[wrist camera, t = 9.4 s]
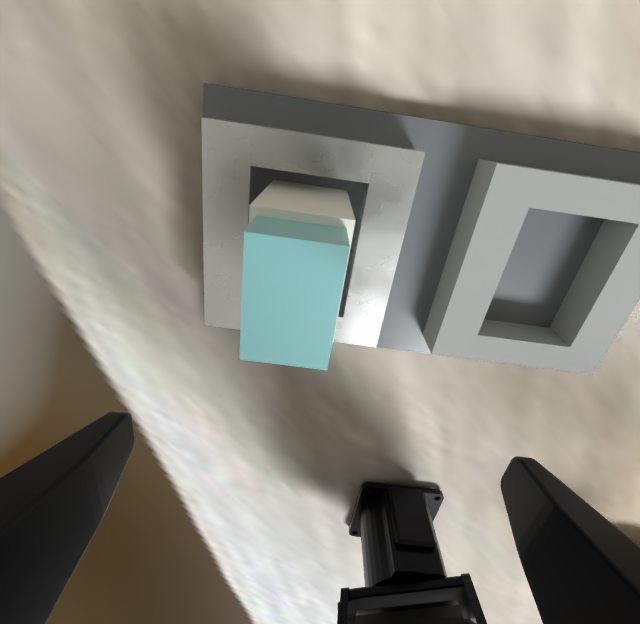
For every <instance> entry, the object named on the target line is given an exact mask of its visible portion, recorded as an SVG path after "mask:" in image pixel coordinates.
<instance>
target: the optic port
mask: <svg viewBox="0 0 640 624" xmlns="http://www.w3.org/2000/svg"><path fill="white" fill-rule="evenodd" d="M201 131H202V198H203V265H204V325H206V326H214V327H221V328H229V329H237V330H240V328H241V302H242V276H243V250H244V231H245V230H246V229H247V227H248V226H249V205H250V204H251V203H252V202H253V201H254V200H255V199H256V198H257V184H258V167H262V168H269V169H275V170H282V171H289V172H295V173H302V174H309V175H315V176H322V177H329V178H335V179H342V180H349V181H355V182H362V183H364V185H363V190H362V195H361V201H360V206H359V211H358V217H357V222H356V227H355V233H354V238H353V244H352V249H351V254H350V260H349V265H348V270H347V276H346V281H345V286H344V292H343V297H342V300H341V303H340V308H339V314H338V319H337V324H336V330H335V335H334V341H333V342H339V343H347V344H355V345H363V346H371V347H376V345H377V341H378V337H379V333H380V329H381V326H382V322H383V318H384V314H385V310H386V306H387V302H388V298H389V294H390V290H391V286H392V282H393V278H394V274H395V270H396V266H397V263H398V259H399V255H400V251H401V247H402V243H403V239H404V235H405V231H406V227H407V223H408V219H409V215H410V211H411V207H412V203H413V199H414V196H415V192H416V188H417V184H418V180H419V176H420V172H421V168H422V164H423V160H424V156H425V152H423V151H420V150H416V149H411V148H404V147H398V146H392V145H385V144H379V143H372V142H366V141H359V140H353V139H347V138H340V137H334V136H327V135H321V134H314V133H308V132H302V131H295V130H289V129H282V128H276V127H270V126H263V125H257V124H250V123H244V122H237V121H231V120H225V119H218V118H204V117H201Z"/></svg>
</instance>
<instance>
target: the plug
mask: <svg viewBox="0 0 640 624" xmlns="http://www.w3.org/2000/svg"><path fill="white" fill-rule="evenodd" d="M355 221H356V220H355V217H354V213H353V210H352V206H351V203H350V200H349V196H348V193H347V190H341V189H334V188H327V187H320V186H314V185H307V184H300V183H293V182H286V181H280V180H273V181H272V182H271V183H270V184H269V185H268V186H267V187H266V188H265V189H264V190H263V192H262V193H261V194H260V195H259V196H258V197H257V198H256V199H255V200H254V201H253V202H252V203H251V204H250V205H249V226H248V227H247V229H246V230H245V231H244V250H243V276H242V302H241V328H240V354H239V360H246V361H254V362H262V363H271V364H279V365H287V366H295V367H303V368H312V369H320V370H328V364H329V359H330V353H331V348H332V346H333V341H334V335H335V330H336V324H337V319H338V314H339V308H340V303H341V297H342V292H343V286H344V281H345V275H346V270H347V265H348V259H349V254H350V248H351V243H352V237H353V232H354V226H355Z"/></svg>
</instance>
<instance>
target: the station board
mask: <svg viewBox="0 0 640 624" xmlns="http://www.w3.org/2000/svg"><path fill="white" fill-rule="evenodd" d="M204 118H218V119H225V120H231V121H237V122H244V123H250V124H257V125H263V126H270V127H276V128H282V129H289V130H295V131H302V132H308V133H314V134H321V135H327V136H334V137H340V138H347V139H353V140H359V141H366V142H372V143H379V144H385V145H392V146H398V147H404V148H411V149H416V150H420V151H423V152H425V156H424V160H423V164H422V168H421V172H420V176H419V180H418V184H417V188H416V192H415V196H414V199H413V203H412V207H411V211H410V215H409V219H408V223H407V227H406V231H405V235H404V239H403V243H402V247H401V251H400V255H399V259H398V263H397V266H396V270H395V274H394V278H393V282H392V286H391V290H390V294H389V298H388V302H387V306H386V310H385V314H384V318H383V322H382V326H381V329H380V333H379V337H378V341H377V345H376V347H380V348H387V349H395V350H403V351H411V352H419V353H427V354H431V352H430V350H429V348H428V346H427V343H426V341H425V339H424V337H423V332H424V328H425V325H426V322H427V319H428V316H429V313H430V310H431V307H432V303H433V300H434V297H435V294H436V291H437V288H438V285H439V282H440V278H441V275H442V272H443V269H444V266H445V263H446V260H447V257H448V254H449V250H450V247H451V244H452V241H453V238H454V235H455V232H456V229H457V225H458V222H459V219H460V216H461V213H462V210H463V207H464V204H465V200H466V197H467V194H468V191H469V188H470V185H471V182H472V179H473V176H474V172H475V169H476V166H477V163H478V160H479V159H482V160H488V161H494V162H501V163H507V164H514V165H520V166H527V167H533V168H539V169H546V170H552V171H559V172H565V173H572V174H578V175H584V176H591V177H597V178H604V179H610V180H616V181H623V182H629V183H636V184H640V153H637V152H631V151H625V150H619V149H612V148H606V147H600V146H594V145H587V144H581V143H575V142H569V141H562V140H556V139H550V138H544V137H537V136H531V135H525V134H519V133H512V132H506V131H500V130H494V129H488V128H481V127H475V126H469V125H463V124H456V123H450V122H444V121H438V120H431V119H425V118H419V117H413V116H406V115H400V114H394V113H388V112H381V111H375V110H369V109H363V108H356V107H350V106H344V105H338V104H331V103H325V102H319V101H313V100H306V99H300V98H294V97H288V96H281V95H275V94H269V93H263V92H257V91H250V90H244V89H238V88H232V87H225V86H219V85H213V84H207V83H204ZM273 180H280V181H286V182H293V183H300V184H307V185H314V186H320V187H327V188H334V189H341V190H347V193H348V196H349V200H350V203H351V206H352V210H353V213H354V217H355V220H356V221H355V226H354V232H353V237H352V243H351V248H350V254H351V249H352V244H353V238H354V233H355V227H356V222H357V217H358V211H359V206H360V201H361V195H362V190H363V185H364V183H362V182H355V181H349V180H342V179H335V178H329V177H322V176H315V175H309V174H302V173H295V172H289V171H282V170H275V169H269V168H262V167H258V184H257V197H258V196H259V195H260V194H261V193H262V192H263V190H264V189H265V188H266V187H267V186H268V185H269V184H270V183H271V182H272V181H273ZM604 220H605V219H602V218H596V217H589V216H582V215H576V214H569V213H562V212H556V211H549V210H542V209H536V208H529V209H528V212H527V214H526V217H525V219H524V222H523V224H522V227H521V229H520V232H519V234H518V237H517V239H516V241H515V244H514V246H513V249H512V251H511V254H510V256H509V259H508V261H507V264H506V266H505V269H504V271H503V274H502V276H501V278H500V281H499V283H498V286H497V288H496V291H495V293H494V296H493V298H492V301H491V303H490V306H489V308H488V311H487V313H486V315H485V318H484V319H486V320H494V321H501V322H509V323H516V324H524V325H531V326H539V327H546V328H549V327H550V325H551V323H552V321H553V319H554V318H555V316H556V314H557V312H558V310H559V308H560V306H561V304H562V302H563V300H564V298H565V296H566V294H567V292H568V290H569V288H570V286H571V284H572V282H573V280H574V278H575V276H576V274H577V272H578V270H579V269H580V267H581V265H582V263H583V261H584V259H585V257H586V255H587V253H588V251H589V249H590V247H591V245H592V243H593V241H594V239H595V237H596V235H597V233H598V231H599V229H600V227H601V225H602V223H603V221H604ZM350 254H349V259H348V265H349V260H350ZM348 265H347V270H348ZM347 270H346V275H345V281H346V276H347ZM345 281H344V286H345ZM344 286H343V292H344ZM343 292H342V297H343ZM342 297H341V300H342Z"/></svg>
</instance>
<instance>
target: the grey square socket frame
mask: <svg viewBox="0 0 640 624" xmlns="http://www.w3.org/2000/svg"><path fill="white" fill-rule="evenodd" d="M529 208H536V209H542V210H549V211H556V212H562V213H569V214H576V215H582V216H589V217H596V218H602V219H605V220H604V221H603V223H602V225H601V227H600V229H599V231H598V233H597V235H596V237H595V239H594V241H593V243H592V245H591V247H590V249H589V251H588V253H587V255H586V257H585V259H584V261H583V263H582V265H581V267H580V269H579V270H578V272H577V274H576V276H575V278H574V280H573V282H572V284H571V286H570V288H569V290H568V292H567V294H566V296H565V298H564V300H563V302H562V304H561V306H560V308H559V310H558V312H557V314H556V316H555V318H554V319H553V321H552V323H551V325H550V327H549V328H546V327H539V326H531V325H524V324H516V323H509V322H501V321H494V320H486V319H484V318H485V315H486V313H487V311H488V308H489V306H490V303H491V301H492V298H493V296H494V293H495V291H496V288H497V286H498V283H499V281H500V278H501V276H502V274H503V271H504V269H505V266H506V264H507V261H508V259H509V256H510V254H511V251H512V249H513V246H514V244H515V241H516V239H517V237H518V234H519V232H520V229H521V227H522V224H523V222H524V219H525V217H526V214H527V212H528V209H529ZM639 299H640V184H636V183H629V182H623V181H616V180H610V179H604V178H597V177H591V176H584V175H578V174H572V173H565V172H559V171H552V170H546V169H539V168H533V167H527V166H520V165H514V164H507V163H501V162H494V161H488V160H482V159H479V160H478V163H477V166H476V169H475V172H474V176H473V179H472V182H471V185H470V188H469V191H468V194H467V197H466V200H465V204H464V207H463V210H462V213H461V216H460V219H459V222H458V225H457V229H456V232H455V235H454V238H453V241H452V244H451V247H450V250H449V254H448V257H447V260H446V263H445V266H444V269H443V272H442V275H441V278H440V282H439V285H438V288H437V291H436V294H435V297H434V300H433V303H432V307H431V310H430V313H429V316H428V319H427V322H426V325H425V328H424V332H423V337H424V339H425V341H426V343H427V346H428V348H429V350H430V352H431V354H434V355H442V356H450V357H457V358H465V359H473V360H481V361H489V362H497V363H505V364H513V365H520V366H528V367H536V368H544V369H552V370H560V371H568V372H575V373H583V374H591V375H593V373H594V372H595V370H596V369H597V367H598V365H599V364H600V362H601V360H602V359H603V357H604V356H605V354H606V352H607V351H608V349H609V348H610V346H611V344H612V343H613V341H614V340H615V338H616V336H617V335H618V333H619V331H620V330H621V328H622V327H623V325H624V323H625V322H626V320H627V319H628V317H629V315H630V314H631V312H632V311H633V309H634V307H635V306H636V304H637V302H638V301H639Z"/></svg>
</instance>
